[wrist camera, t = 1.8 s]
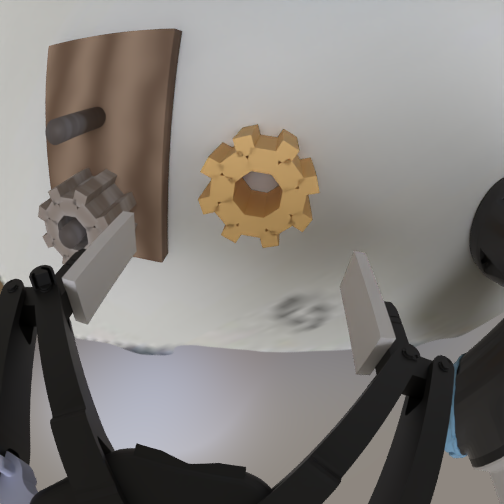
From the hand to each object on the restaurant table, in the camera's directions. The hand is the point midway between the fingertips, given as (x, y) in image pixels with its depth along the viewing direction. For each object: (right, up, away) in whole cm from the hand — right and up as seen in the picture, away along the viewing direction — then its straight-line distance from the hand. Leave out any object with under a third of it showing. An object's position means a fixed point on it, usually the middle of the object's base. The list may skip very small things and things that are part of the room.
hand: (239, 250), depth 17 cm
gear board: (-16, +12, +12) cm, 23 cm away
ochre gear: (+2, +8, +12) cm, 15 cm away
